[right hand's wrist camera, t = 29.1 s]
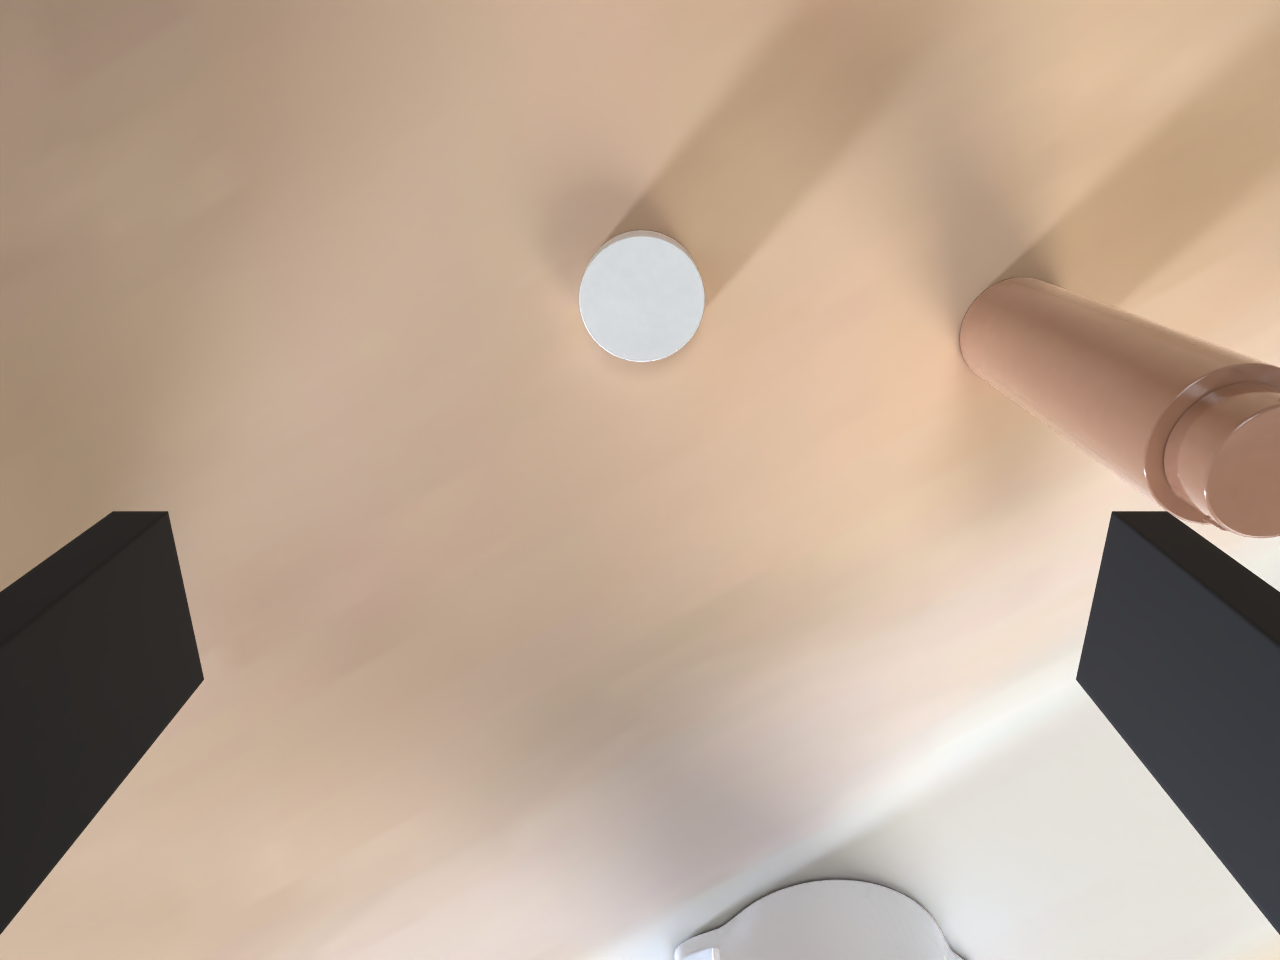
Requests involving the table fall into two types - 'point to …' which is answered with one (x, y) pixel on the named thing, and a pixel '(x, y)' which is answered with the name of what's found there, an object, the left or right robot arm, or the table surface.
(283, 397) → the table surface
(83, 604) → the right robot arm
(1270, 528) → the copper bottle
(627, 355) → the lid
